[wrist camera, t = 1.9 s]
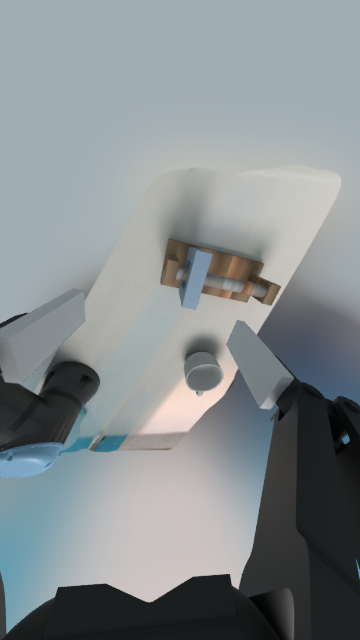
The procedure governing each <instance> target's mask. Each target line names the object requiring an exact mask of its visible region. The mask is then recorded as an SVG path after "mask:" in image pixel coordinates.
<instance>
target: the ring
mask: <svg viewBox="0 0 360 640" xmlns="http://www.w3.org/2000/svg"><path fill="white" fill-rule="evenodd" d="M212 255H213V254H210V253H208V252H206V251H203V250H200V249H196V248H192V247H189V250H188V254H187V258H186V262H185V267H186V268H189V272H188V276H187V280H186V281H183V280H181V284H180V288H179V294H180V299H181V304H182V307H184V308H189V309H195V310H196V308H197V304H198V301H199V298H200V295H201V291H202V288H203V285H204V281H205V278H206V275H207V271H208V268H209V265H210V261H211V258H212Z"/></svg>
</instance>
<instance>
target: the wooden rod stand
mask: <svg viewBox="0 0 360 640" xmlns="http://www.w3.org/2000/svg"><path fill="white" fill-rule="evenodd" d="M189 247H192V248H196V249H200V250H203V251H206V252H208V253H210V254H213V255H212V258H211V261H210V265H209V268H208V271H207V275H206V278H205V281H204V285H203V288H202V291H201V293H204V294H209V295H214V296H219V297H223V298H228V299H233V300H238V301H242V302H248V299H249V297H250V295H251V296H252V297H254V298H255V299H257V300H258V301H259V302H261V303H262V304H266V305H272V303H273V301H274V299H275V298H276V296H277V294H278V292H279V290H280V288H281V286H279V285H277V284H274V283H272V282H270V281H268V280H265V279H263V278H261V277H259V275H260V273H261V270H262V268H263V266H264V263H260V262H256V261H253V260H249V259H245V258H241V257H237V256H233V255H229V254H225V253H222V252H218V251H214V250H210V249H206V248H202V247H198V246H195V245H191V244H187V243H183V242H179V241H175V240H171V239H169V240H168V246H167V251H166V257H165V262H164V268H163V274H162V279H161V284H162V285H167V286H171V287H176V288H180V284H181V280H183V281H186V280H187V276H188V272H189V268H186V267H185V262H186V258H187V254H188V250H189Z"/></svg>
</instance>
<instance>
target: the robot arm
mask: <svg viewBox="0 0 360 640" xmlns="http://www.w3.org/2000/svg"><path fill="white" fill-rule="evenodd" d="M84 322H85V302H84V291H83V290H78V289H72V290H70V291H68V292H67V293H65V294H63V295H61V296H59V297H57V298H55V299H54V300H52V301H50V302H48V303H46V304H44V305H43V306H41V307H39V308H37V309H35V310H33V311H32V312H30V313H24V314H21V315H17V316H14V317H12V318H10V319H8V320H6V322H5V321H4V322H3V323H1V324H0V477H9V478H14V477H27V476H32V475H36V474H39V473H41V472H43V471H45V470H47V469H48V468H49V467H50V466H51V465H52V464H53V463H54V461H55V459H56V457H57V456H58V454H59V452H60V451H61V449H62V448H63V446H64V443H65V441H66V439H67V437H68V435H69V433H70V431H71V429H72V427H73V425H74V423H75V421H76V419H77V417H78V415H79V413H80V411H81V409H82V407H83V406H84V405H85V404H86V403H87V402H88V401H89V400H90V399H91V398H92V397H93V396H94V395H95V393H96V392H97V390H98V387H99V385H100V380H99V377H98V375H97V374H96V373H95V372H94V371H93V370H92V369H91V368H89V367H87V366H85V365H83V364H79V363H75V362H64V363H60V364H57V365H56V366H54V367H53V368H52V369H51V370H50V371H49V373H48V374H47V375H46V378H45V380H44V383H43V386H42V388H41V391H40V393H39V395H36V394H35V393H33V392H31V391H30V390H28V389H26V388H25V387H23V386H22V385H20V384H23V383H24V382H25V381H26V380H27V379H28V378H29V377H30V376H31V375H32V374H33V373H34V372H35V371H36V370H37V369H38V368H39V367H40V366H41V365H42V364H43V363H44V362H45V361H46V360H47V359H48V358H49V357H50V356H51V355H52V354H53V353H54V352H55V351H56V350H57V349H58V348H59V347H60V346H61V345H62V344H63V343H64V342H65V341H66V340H67V339H68V338H69V337H70V336H71V335H72V334H73V333H74V332H75V331H76V330H77V329H78V328H79V327H80V326H81V325H82V324H83V323H84ZM226 345H227V347H228V349H229V350H230V352H231V354H232V356H233V358H234V360H235V362H236V364H237V366H238V368H239V369H240V371H241V373H242V375H243V377H244V379H245V381H246V383H247V385H248V387H249V389H250V390H251V392H252V394H253V396H254V398H255V400H256V402H257V403H258V406H259V407H260V408H264V409H271V408H272V407H273V405H274V404H275V403H276V404H277V406H278V407H279V409H278V410H277V411H276V413H275V414H274V415H273V416H272V417H271V419H270V420H271V421H272V420H273V419H275V421H274V427H273V433H272V439H271V444H270V450H269V456H268V462H267V468H266V473H265V479H264V485H263V491H262V497H261V503H260V508H259V514H258V520H257V526H256V532H255V537H254V544H253V548H252V552H251V555H250V557H249V559H248V561H247V563H246V565H245V568H244V571H243V573H242V577H241V581H240V585H239V590H238V589H236V588H235V587H233V586H232V584H231V578H230V574H224V575H211V576H198V577H192V578H190V579H189V580H187V581H185V582H184V583H182V584H180V585H179V586H177V587H176V588H174V589H172V590H171V591H169V592H167V593H166V594H164V595H163V596H161V597H159V598H158V599H156V600H155V601H153V602H145V601H143V600H140V599H138V598H136V597H134V596H132V595H130V594H127V593H125V592H123V591H121V590H119V589H116V588H114V587H112V586H110V585H108V584H94V585H81V586H68V587H58V589H57V593H56V596H55V597H54V598H53V599H51V600H49V601H47V602H45V603H44V604H42V605H41V606H39V607H38V608H36V609H35V610H34V611H32V612H31V613H29V614H28V615H27V616H26V617H25V618H24V619H22V620H21V621H20V622H19V623H18V624H17V625H15V626H14V627H13V628H12V629H11V630H10V631H9V632H8V633H7V634H6V608H5V593H4V586H3V581H2V577H1V573H0V640H360V579H359V574H358V568H357V563H358V566H359V569H360V406H359V405H358V404H357V403H355V402H354V401H352V400H349V399H348V398H346V397H342V396H338V397H337V398H336V399H335V400H334V401H331V400H329V399H326V398H324V396H323V395H322V394H321V393H320V392H319V391H318V390H317V389H316V388H314V387H313V386H311V385H309V384H307V383H302V382H300V381H299V380H298V379H297V378H296V377H295V376H294V375H293V374H292V373H291V371H290V370H289V369H288V368H287V367H286V366H285V365H284V364H283V362H282V361H281V360H280V359H279V358H278V357H277V356H275V355H274V354H273V353H272V352H271V351H270V350H269V349H268V348H267V347H266V345H265V344H264V343H263V342H262V341H261V340H260V339H259V338H258V336H257V335H256V334H255V333H254V332H253V331H252V329H251V328H250V327H249V326H248V325H247V324H246V323H245V322H244V321H239V320H237V321H236V324H235V326H234V328H233V330H232V333H231V335H230V337H229V339H228V342H227V344H226ZM347 434H348V436H349V438H350V441H349V442H348V443H347V444H344V443H343V441H342V438H344V437H345V436H346V435H347ZM355 557H356V558H355ZM356 560H357V563H356Z"/></svg>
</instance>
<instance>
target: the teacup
mask: <svg viewBox="0 0 360 640" xmlns="http://www.w3.org/2000/svg"><path fill="white" fill-rule="evenodd" d="M184 372H185V378H186V384H187V386H188V387H189V388H190V389H192V390H194V391H196V394H197V396H202V395H203V392H205V391H209V390H212V389H214V388H215V387H217V386H218V385H219V384H220V383H221V382H222V380H223V371H222V369H221V368H220V366H219V364H218V362H217V360H216V359H215V357H214V356H213V355H211V354H210V353H207V352H197V353H194V354H192V355H191V356H189V357H188V358H187V360H186V362H185V365H184Z"/></svg>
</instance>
